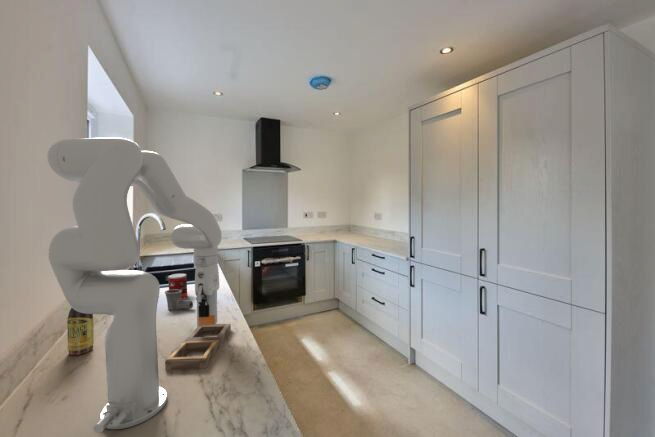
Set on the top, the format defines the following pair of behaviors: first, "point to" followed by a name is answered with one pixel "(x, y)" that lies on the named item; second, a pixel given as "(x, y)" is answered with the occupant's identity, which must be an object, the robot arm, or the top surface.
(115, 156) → the robot arm
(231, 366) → the top surface
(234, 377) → the top surface
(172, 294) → the pipe
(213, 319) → the skincare box
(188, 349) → the wooden flat frame
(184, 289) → the canned food
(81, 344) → the sauce bottle
